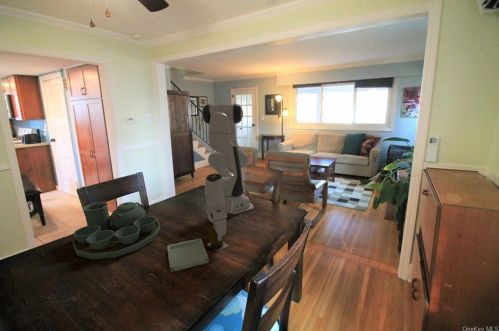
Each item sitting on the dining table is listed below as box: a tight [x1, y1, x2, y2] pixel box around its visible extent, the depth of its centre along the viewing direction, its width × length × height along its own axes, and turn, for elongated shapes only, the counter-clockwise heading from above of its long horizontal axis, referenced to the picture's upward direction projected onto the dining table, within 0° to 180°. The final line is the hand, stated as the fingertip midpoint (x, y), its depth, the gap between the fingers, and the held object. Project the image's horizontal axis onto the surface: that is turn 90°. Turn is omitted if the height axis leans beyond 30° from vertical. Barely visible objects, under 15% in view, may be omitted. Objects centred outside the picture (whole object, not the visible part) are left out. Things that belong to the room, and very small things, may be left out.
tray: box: [167, 237, 210, 273], centre depth 107 cm, size 16×18×2 cm
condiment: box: [206, 222, 229, 252], centre depth 114 cm, size 7×8×12 cm
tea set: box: [72, 201, 161, 260], centre depth 123 cm, size 40×40×16 cm
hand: (216, 235), depth 114 cm, fingers open, 8 cm apart
